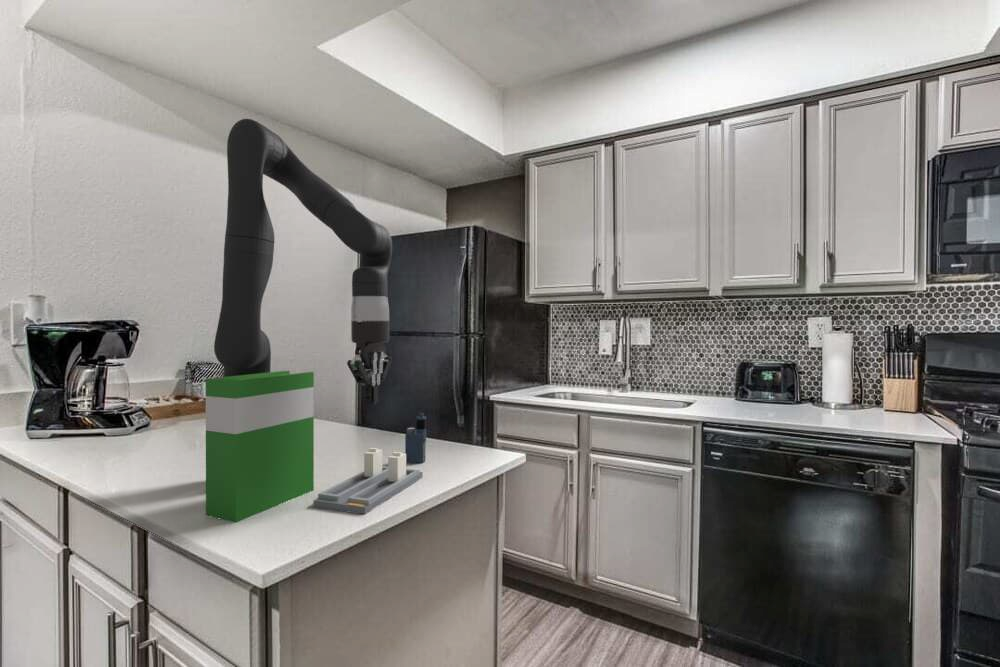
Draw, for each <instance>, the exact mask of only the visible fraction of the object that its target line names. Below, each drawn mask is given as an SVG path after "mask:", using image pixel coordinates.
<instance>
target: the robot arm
mask: <svg viewBox="0 0 1000 667" xmlns="http://www.w3.org/2000/svg"><path fill="white" fill-rule="evenodd" d="M226 158H227V159H226V160H227V162H226V163H227V180H228V181H227V183H228V184H227V186H228V187H227V188H228V189H227V190H228V191H227V192H228V193H227V208H226V209H227V211H226V226H225V227H226V228H225V235H224V247H223V266H222V267H223V268H222V297H221V298H222V299H221V306H220V312H219V317H218V323H217V327H216V333H215V338H214V342H213V351H214V354H215V358H216V360H217V361H218V362H219V364H220V365H222V366H223V377H229V376H239V375H249V374H259V373H268V372H271V365H272V364H271V360H272V358H271V356H272V353H271V351H272V350H271V343H270V338H269V337H268V335H267V334H266V333H265V331H263V330H262V329H261V312H262V310H261V309H262V302H263V297H264V294H265V291H266V289H267V286H268V282H269V279H270V276H271V274H272V269H273V263H274V253H275V252H274V251H275V232H274V227H273V222H272V219H271V216H270V213H269V210H268V207H267V204H266V200H265V196H264V188H263V186H264V185H263V179H264V176H266V177H268V178H270V179H272V180H274V181H275V182H277V183H278V184H281V185H282V186H284V187H285V188H287V190H289V191H290V192H291V193H292V194H293V195H294V196H296V198H297V199H298V201H299V202H300V203H301V204H302V205H303V206H304V207H305V209H306V210H307V211H309V212H310V213H311V214H312V215H313V216H314V217H315V218H317V219H318V221H320V222H321V223H322V224H324V226H326V227H328V228H329V229H331V231H333V233H334V234H335V235H336V236H337V238H338V239H339V240H340V241H341V242H342V243H343V244H344V245H345V246H346V247H347V248H349V249H350V250H352V251H353V252H354V253H357V254H359V255H360V260H359V262H360V263H359V267H358V268H356V269H354V271H353V272H352V277H351V284H352V285H351V297H352V298H351V306H350V317H351V318H350V322H351V323H350V324H351V325H350V328H351V329H350V331H351V332H350V333H351V335H350V337H351V338H350V340H351V342H352V343H353V344H354V343H355V344H356V345H355V349H354V357H353V358H352V360H351V359H349V360H347V362H346V365H347V367H348V368H349V370H350V372H351V374H352V376H353V378H354V380H355V382H356V383H357V384H359V385H362V386H363V388H364V389H363V390H364V392H363V393H364V403H365V404H366V405H376V404H378V403H379V385H381V382H384V381H385V380H386V377H387V375H388V372H389V370H390V368H391V367H390V366H391V364H392V362H393V357H392V356H388V355H387V354H386V352H387V350H386V346H385V343H388V342H389V341H390V306H389V298H388V294H389V293H388V286H389V285H388V273H389V271H390V270H389V269H390V264H391V260H392V254H393V240H392V236H391V233H390V231H389V230H388V229H387V228H386V227H385V226H383V225H382V224H379V223H378V222H376V221H373V220H371V219H370V218H368V217H367V216H366V215H364V214H363V213H362V212H360V211H359V210H357V208H356V206H355V205H354V203H352V201H350V200H349V199H348V198H347V197H345V195H343V194H342V193H341V192H339V190H337V189H336V188H335V187H333V185H331V184H329V183H328V182H327V181H325V180H324V179H323V178H321V177H320V176H319V175H317V174H316V173H314V172H313V171H312V170H311V169H309V168H308V166H306V164H304V162H303V161H301V160H300V158H299V157H298V156H297V155H296V154H295V153H294V152H293V150H292V149H291V148H290V147H289V145H288V144H287V143H286V142H285V141H284V140H283V138H281V137H280V136H279V135H278V134H276V133H275V132H274V131H272V130H271V129H270V128H268V127H267V126H265V125H264V124H262V123H260V122H258V121H256V120H255V119H252V118H242V119H239V120H238V121H237V122H235V123H234V124H233V126H232V127H231V129H230V130H229V134H228V137H227V143H226Z"/></svg>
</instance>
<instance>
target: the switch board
mask: <svg viewBox="0 0 1000 667" xmlns="http://www.w3.org/2000/svg"><path fill="white" fill-rule="evenodd" d="M422 477H424V476H423V472H422V471H421V469H413V468H406V476H405V477H403V478H402V479H400V480H398V481H397V482H390V481H388V466H383V465H382V472H380V473H378V474H376V475H374V476H372V477H365V476H364V471H362V472H360V473H358V474H356V475H353V476H352V477H349V478H347V479H345V480H343V481H342V482H340V483H338V484H335V485H334V486H332V487H329V488H327V489H324V490H323V491H320V493H318V494H317V498H315V499H313V508H319V509H327V510H333V509H334V510H333V511H339V510H342V512H346V511H350V512H349V513H353V512H357V513H356V514H360V513H363V514H362V515H366V514H368V513H369V512H371V511H372V509H373V508H374V509H375V507H376V506H377V507H379V506H380V505H382V504H383V502H384V501H385V502H387V501H389V500H390V499H392V498H393V497H394V495H395V494H396V495H398V494H399V493H400V491H401V492H403V491H404V490H406V489H407V488H408V486H409V487H410V486H412V485H413V484H415V483H416V481H417V480H418V481H420V480H421V479H422ZM420 478H421V479H420ZM419 479H420V480H419ZM418 481H417V482H418ZM414 482H415V483H414ZM411 484H412V485H411ZM406 487H407V488H406ZM405 488H406V489H405ZM403 489H404V490H403ZM397 493H398V494H397ZM396 495H395V496H396ZM392 496H393V497H392ZM389 498H390V499H389ZM386 500H387V501H386ZM385 502H384V503H385ZM381 503H382V504H381ZM378 505H379V506H378ZM377 507H376V508H377ZM374 509H373V510H374ZM370 510H371V511H370ZM367 512H368V513H367Z"/></svg>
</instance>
